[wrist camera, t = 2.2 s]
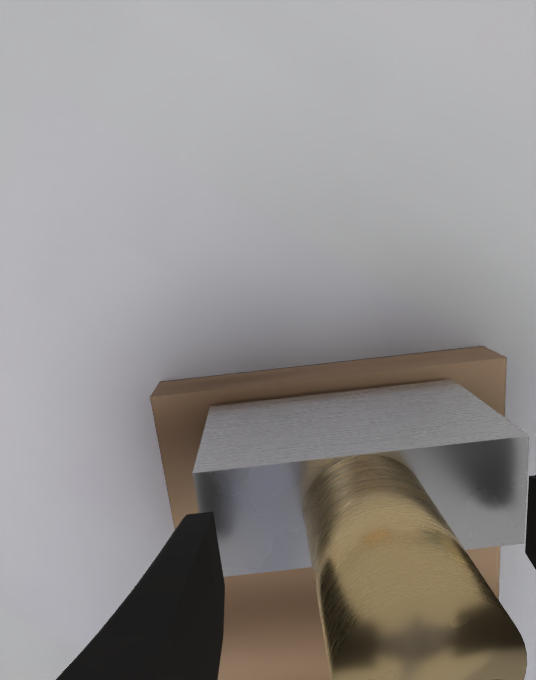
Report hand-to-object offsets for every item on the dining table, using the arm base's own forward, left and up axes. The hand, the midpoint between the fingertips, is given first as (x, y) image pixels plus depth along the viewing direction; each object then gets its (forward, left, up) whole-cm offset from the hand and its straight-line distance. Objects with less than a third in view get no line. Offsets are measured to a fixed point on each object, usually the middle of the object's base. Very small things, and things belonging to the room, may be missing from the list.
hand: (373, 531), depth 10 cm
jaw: (0, 0, -5) cm, 5 cm away
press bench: (-8, 0, -7) cm, 11 cm away
